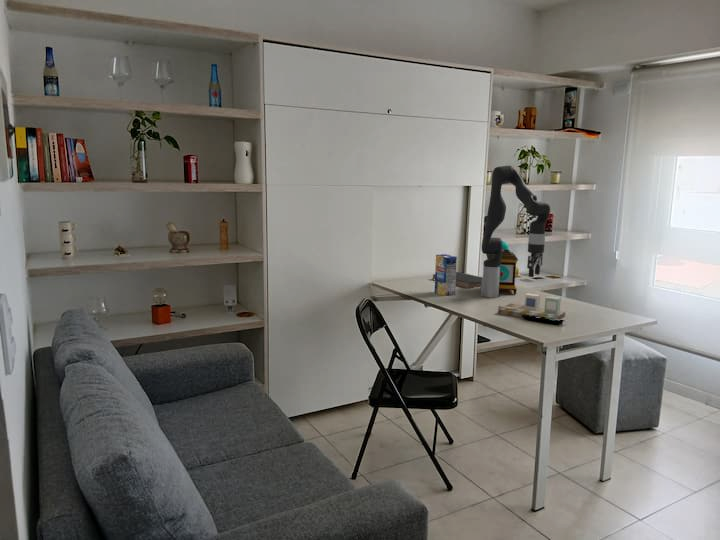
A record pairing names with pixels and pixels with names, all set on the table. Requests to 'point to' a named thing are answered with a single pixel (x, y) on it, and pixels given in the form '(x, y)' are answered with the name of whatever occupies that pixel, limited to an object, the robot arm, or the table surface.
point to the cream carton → (532, 302)
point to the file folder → (467, 280)
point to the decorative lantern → (507, 268)
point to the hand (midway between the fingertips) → (534, 275)
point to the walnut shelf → (526, 311)
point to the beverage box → (445, 274)
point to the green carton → (552, 305)
